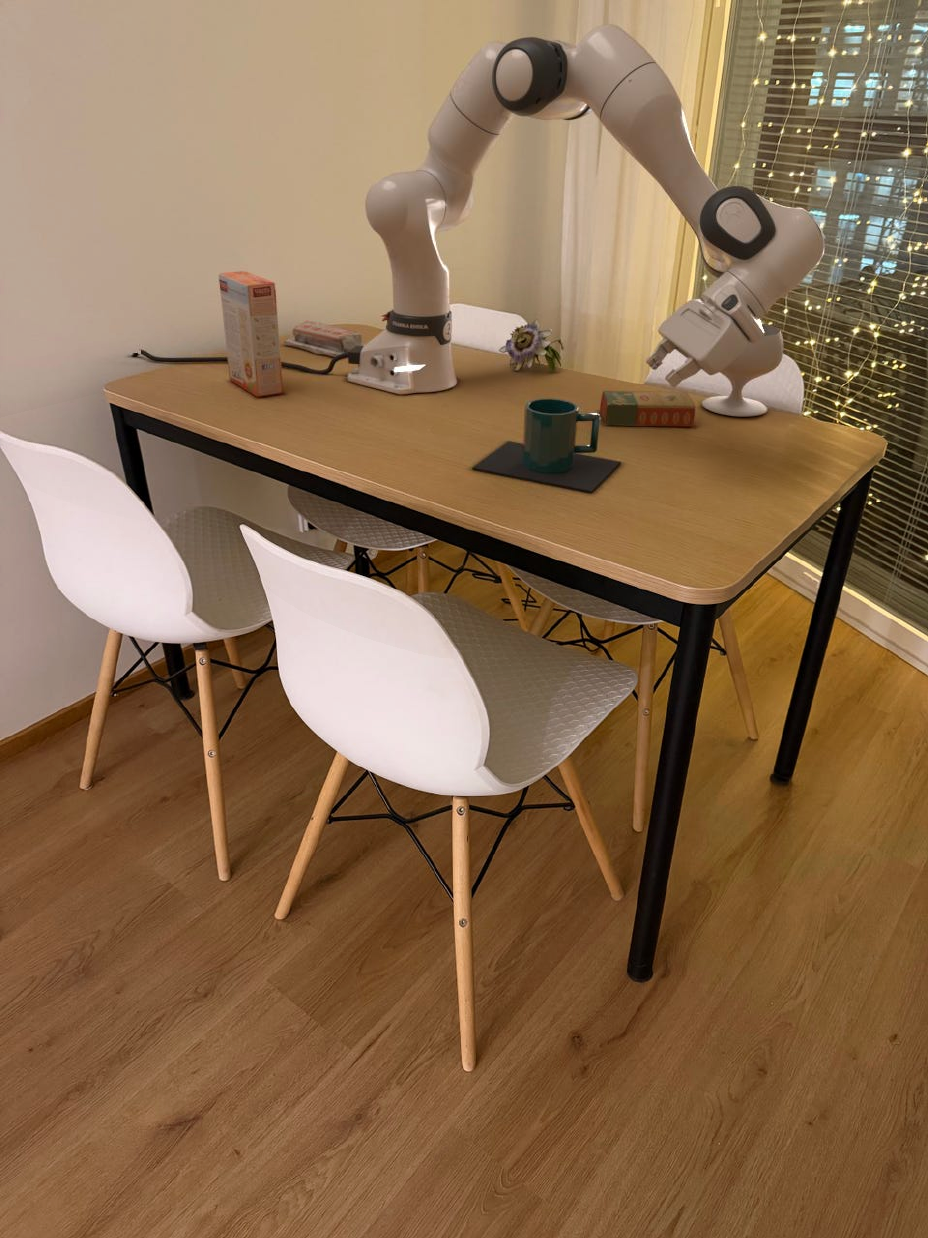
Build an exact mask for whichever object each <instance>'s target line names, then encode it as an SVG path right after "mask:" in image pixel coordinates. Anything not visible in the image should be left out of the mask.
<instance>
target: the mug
mask: <svg viewBox="0 0 928 1238" xmlns="http://www.w3.org/2000/svg"><path fill="white" fill-rule="evenodd" d="M579 409H580V407H579V406H578V405H577V403H575V402H573V401H571V400H567V399H562V398H560V399H559V398H550V397H549V398H548V397H547V398H537V399H532V400H530V401H527V402H526V403H525V405H524V415H523V435H522V437H523V438H522V444H523V452H522V460H523V461H522V464H523V466H524V467H525V468H527V469H529V470H532V471H535V472H540V473H562V472H566V471H568V470H570V469H572V467H573V464H574V457H575V453H576V454H594V453H596V452H597V451H598V443H599V436H600V435H599V434H600V424H601V415H600V414H599V413H598V412H593V413H592V412H591V413H590V412H589V413H588V412H587V413H579ZM578 422H591V428H590V429H591V430H590V441H589V444H581V445H577V444H576V443H577V434H578V433H577V432H578Z"/></svg>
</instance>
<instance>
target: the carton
mask: <svg viewBox="0 0 928 1238" xmlns="http://www.w3.org/2000/svg"><path fill="white" fill-rule="evenodd" d="M696 408H697V407H696V404H695V402H694V401H693V399H692V397H691V395H690V394H689V393H688V392H687V391H686V392H685V391H629V390H626V391H624V390H622V391H619V390H603V391H602V394H601V399H600V406H599V410H600V413H601V416H602V419H603V422H604V424H605V426H630V427H631V426H635V427H637V426H638V427H642V426H643V427H694V424H695V417H696Z"/></svg>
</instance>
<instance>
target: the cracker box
mask: <svg viewBox="0 0 928 1238" xmlns="http://www.w3.org/2000/svg"><path fill="white" fill-rule="evenodd" d="M218 282H219V283H218V284H219V291H220V299H221V309H222V318H223V328H224V336H225V346H226V355H227V356H226V357H228V362H227V365H228V374H229V375H228V376H229V381H230V382H232V383H233V384H235V385H237V386H239V387H240V388H242V389H244V390H245V391H247V392H248V393H250V394H251V395H253V396H255V397H257V398H259V397H260V398H261V397H267V396H274V395H275V396H276V395H280V394H284V383H283V371H282V369H283V368H282V367H281V362H282V357H281V356H282V355H281V344H280V343H281V342H280V329H279V319H278V318H279V317H278V306H277V305H278V304H277V291H276V283H275V282H274V281H271V280H268V279H266V278H263V277H261V276H258V275H255V274H253V273H251V272H248V271H244V270H243V271H242V270H240V271H229V272H221V273H218Z"/></svg>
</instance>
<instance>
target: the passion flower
mask: <svg viewBox="0 0 928 1238" xmlns="http://www.w3.org/2000/svg"><path fill="white" fill-rule="evenodd" d="M539 325H540V321H539V320H538V318H536V319H534V320H533V321H532V322H531V323H527V324H525V325H520V326H519V327H518V326H515V329H514V330H512V333H509V334H510V335H511V338H510V339H507V340H506V341H505V345H504V346H502V347H500V348H499V349H498V351H499V352H500V353H503V354H504V353H507V354H508V356H509V357H510V359H509V366H515V372H520V371H521V370H522V369H523V368H524V364H525V366H526V367H527V368H528V369H531V368H532V367H533V366H534V365H535V361H536V360H537V362H538V364H539V365H540V364H541V361H540V358H539V356H540V357H545V360H546V363H547V365H548V368H549V370H550V371H551V372H553V373H556V371H557V363H558V365H559V368H561V367H562V362H563V361H562V356H561V355H560V353H559V352H558V351H557V350H556V349H555V348H554V347H552V346H551V344H554V343H556V342H558V343H559V345H560V348H561V350H562V351H563V350H565V346H564V343H563V342H562V339H561V338H560V339H556V340H554V341H550V340H548V339H547V338H549V336H551V335H552V332H553V330H552V329H551V328H550V329H544V330H539ZM535 359H536V360H535Z"/></svg>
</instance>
